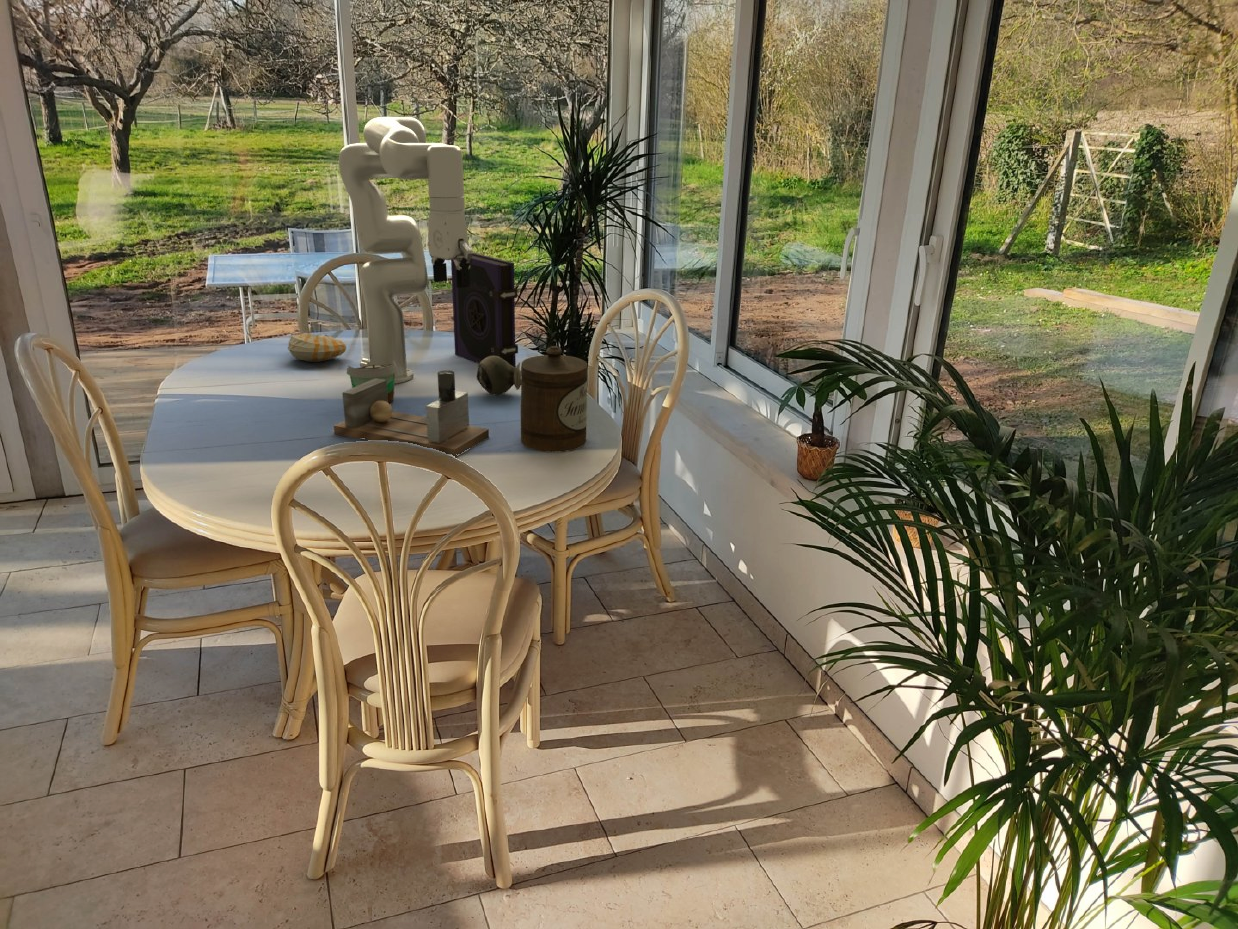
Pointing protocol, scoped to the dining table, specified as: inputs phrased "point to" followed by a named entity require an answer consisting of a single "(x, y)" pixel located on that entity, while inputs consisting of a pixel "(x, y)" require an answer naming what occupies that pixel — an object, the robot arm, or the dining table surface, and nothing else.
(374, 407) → the walnut
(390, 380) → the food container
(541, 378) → the wooden container
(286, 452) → the dining table surface
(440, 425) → the sliding jaw
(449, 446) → the base
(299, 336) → the nautilus
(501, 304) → the book
